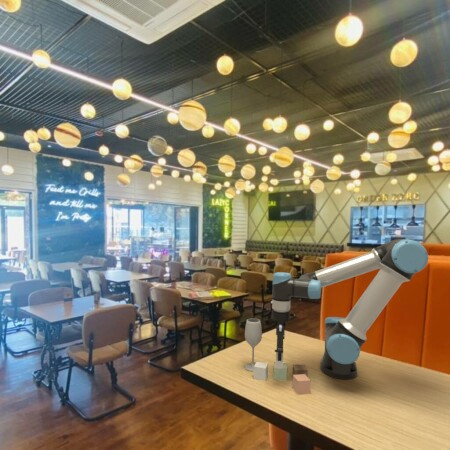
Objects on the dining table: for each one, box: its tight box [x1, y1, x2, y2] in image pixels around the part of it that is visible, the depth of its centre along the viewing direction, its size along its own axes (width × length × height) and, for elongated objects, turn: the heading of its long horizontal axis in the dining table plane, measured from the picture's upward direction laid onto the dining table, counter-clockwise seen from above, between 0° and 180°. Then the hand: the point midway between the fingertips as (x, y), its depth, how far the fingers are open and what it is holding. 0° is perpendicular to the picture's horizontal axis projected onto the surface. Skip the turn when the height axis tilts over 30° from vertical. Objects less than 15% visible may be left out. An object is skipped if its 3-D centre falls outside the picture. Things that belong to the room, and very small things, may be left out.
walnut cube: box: [292, 364, 309, 378], centre depth 125 cm, size 5×5×5 cm
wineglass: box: [244, 317, 263, 373], centre depth 135 cm, size 8×8×21 cm
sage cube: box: [273, 361, 288, 382], centre depth 127 cm, size 5×5×5 cm
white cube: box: [253, 361, 269, 381], centre depth 127 cm, size 5×5×5 cm
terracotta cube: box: [292, 374, 311, 395], centre depth 116 cm, size 5×5×5 cm
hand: (279, 360), depth 127 cm, fingers open, 13 cm apart
